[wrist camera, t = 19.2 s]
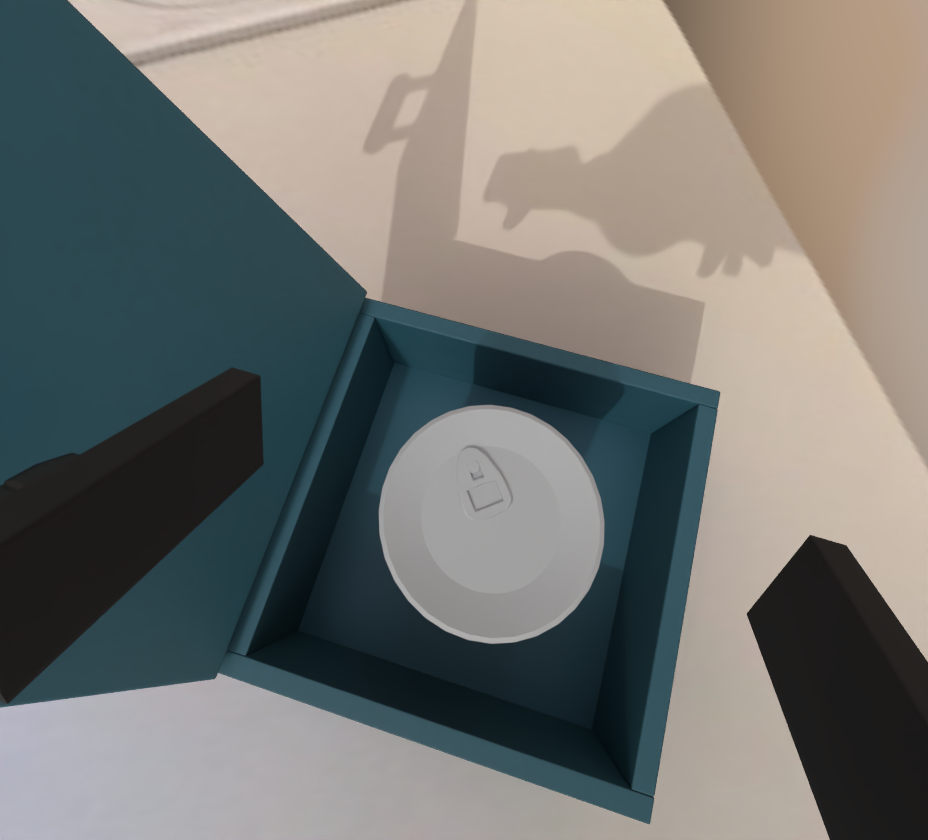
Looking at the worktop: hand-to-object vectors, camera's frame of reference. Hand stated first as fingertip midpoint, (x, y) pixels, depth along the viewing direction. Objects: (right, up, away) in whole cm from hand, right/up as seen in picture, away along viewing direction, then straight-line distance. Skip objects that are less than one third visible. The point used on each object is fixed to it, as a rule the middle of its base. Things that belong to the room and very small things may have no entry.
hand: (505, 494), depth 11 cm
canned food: (0, -4, +15) cm, 16 cm away
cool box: (0, -4, +16) cm, 16 cm away
